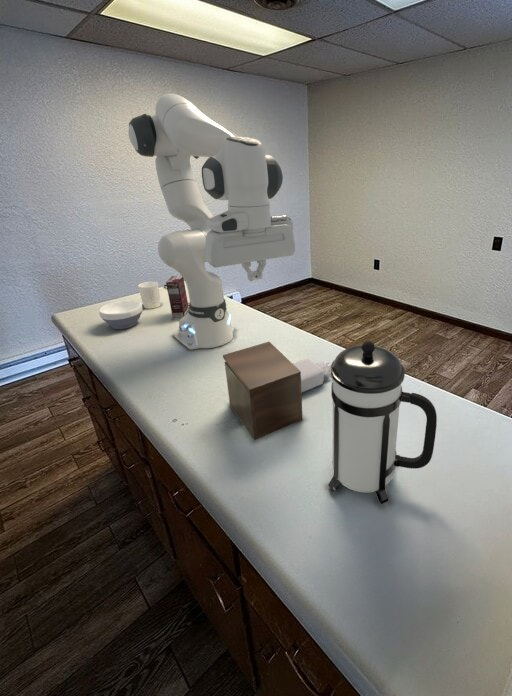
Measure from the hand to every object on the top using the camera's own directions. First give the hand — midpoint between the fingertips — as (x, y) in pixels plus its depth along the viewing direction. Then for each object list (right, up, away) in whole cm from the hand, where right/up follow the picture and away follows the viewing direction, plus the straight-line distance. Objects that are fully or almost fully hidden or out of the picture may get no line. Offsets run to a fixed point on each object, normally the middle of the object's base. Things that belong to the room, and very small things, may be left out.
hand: (255, 279), depth 83 cm
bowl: (-62, -14, +57) cm, 85 cm away
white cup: (-60, -6, +75) cm, 96 cm away
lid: (+1, -20, +2) cm, 21 cm away
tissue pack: (+12, -28, +20) cm, 36 cm away
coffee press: (+25, -40, -11) cm, 49 cm away
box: (+1, -33, +7) cm, 34 cm away
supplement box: (-43, -10, +65) cm, 78 cm away
